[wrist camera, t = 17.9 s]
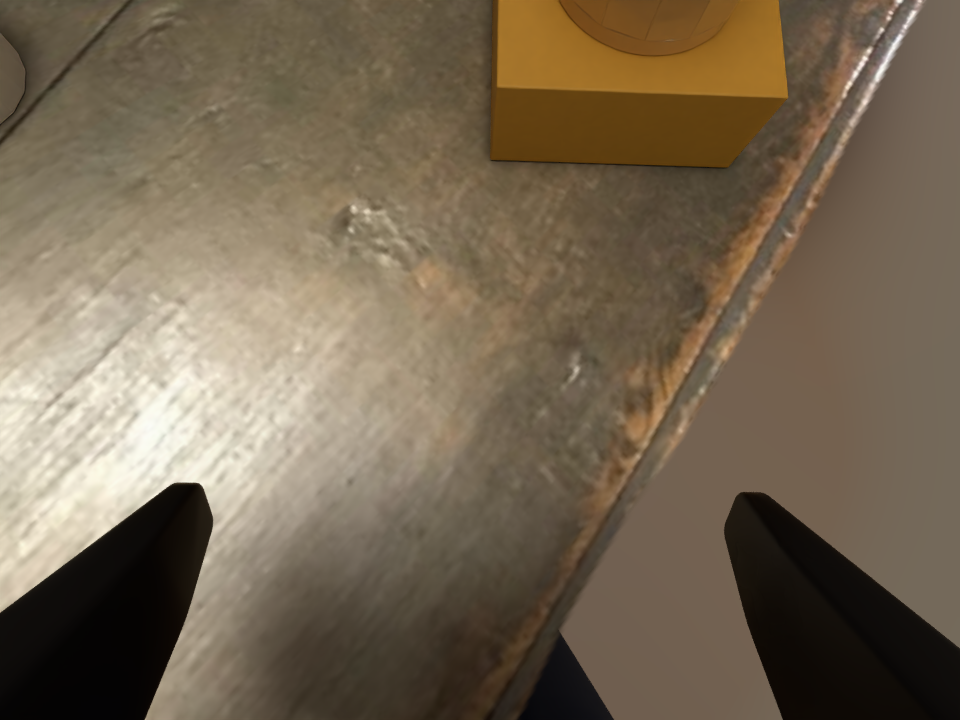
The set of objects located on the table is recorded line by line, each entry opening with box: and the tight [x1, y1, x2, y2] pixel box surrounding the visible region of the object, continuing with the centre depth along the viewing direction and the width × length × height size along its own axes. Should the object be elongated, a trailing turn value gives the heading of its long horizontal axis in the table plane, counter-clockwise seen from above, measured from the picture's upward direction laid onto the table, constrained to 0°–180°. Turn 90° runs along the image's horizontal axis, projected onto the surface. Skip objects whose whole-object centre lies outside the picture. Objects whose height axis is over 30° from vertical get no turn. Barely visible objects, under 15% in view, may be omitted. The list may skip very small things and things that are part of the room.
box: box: [490, 0, 788, 168], centre depth 25 cm, size 11×11×5 cm
